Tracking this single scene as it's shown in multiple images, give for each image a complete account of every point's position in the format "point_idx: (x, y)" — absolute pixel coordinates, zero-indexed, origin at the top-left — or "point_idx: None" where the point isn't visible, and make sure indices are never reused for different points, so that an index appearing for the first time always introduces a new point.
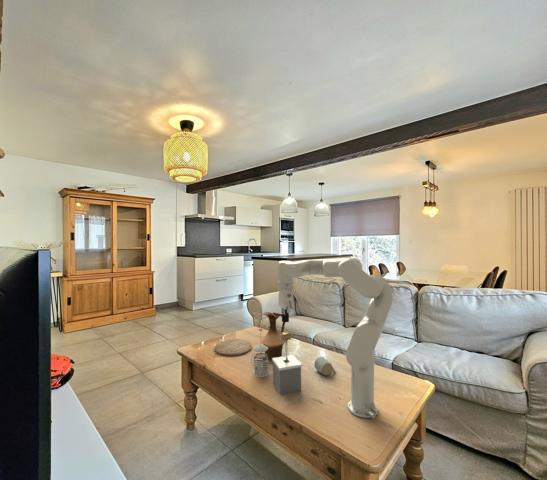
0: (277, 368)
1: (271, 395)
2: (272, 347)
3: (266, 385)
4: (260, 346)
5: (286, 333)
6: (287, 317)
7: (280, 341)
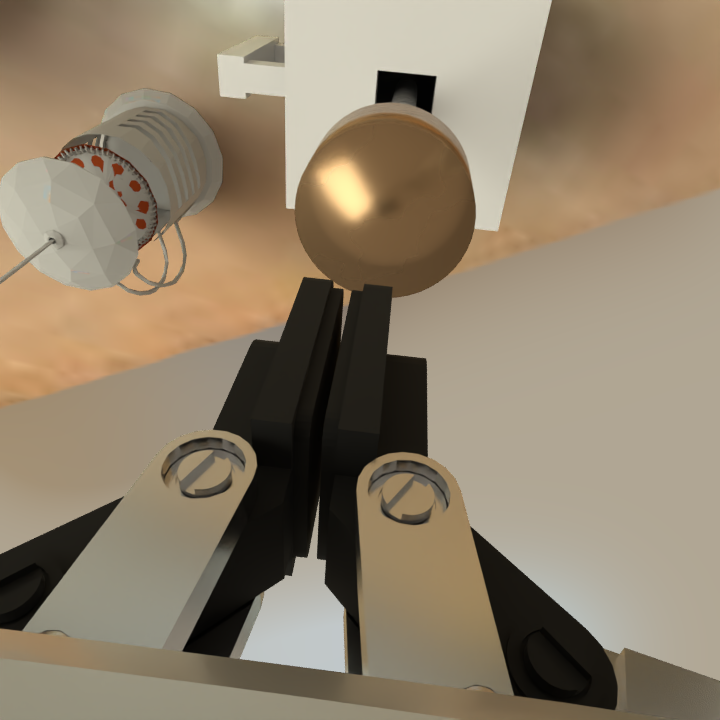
0: None
1: None
2: None
3: None
4: (70, 247)
5: (391, 218)
6: (426, 423)
7: None
